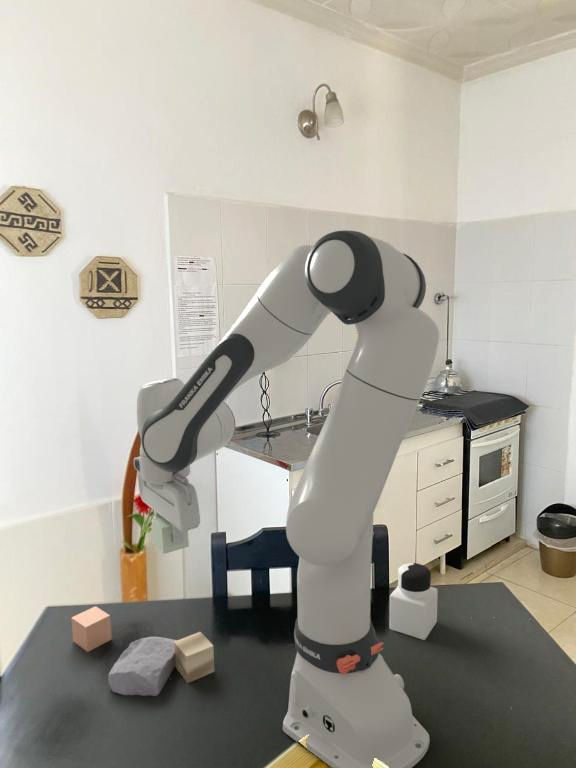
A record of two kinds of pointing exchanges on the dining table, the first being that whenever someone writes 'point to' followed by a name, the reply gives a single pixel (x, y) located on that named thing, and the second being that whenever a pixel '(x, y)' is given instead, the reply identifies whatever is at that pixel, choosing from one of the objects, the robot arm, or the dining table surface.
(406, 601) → the medicine bottle
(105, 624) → the terracotta cube
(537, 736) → the dining table surface
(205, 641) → the birch cube
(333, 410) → the robot arm
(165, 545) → the sage cube
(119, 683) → the stone block
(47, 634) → the dining table surface
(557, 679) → the dining table surface
